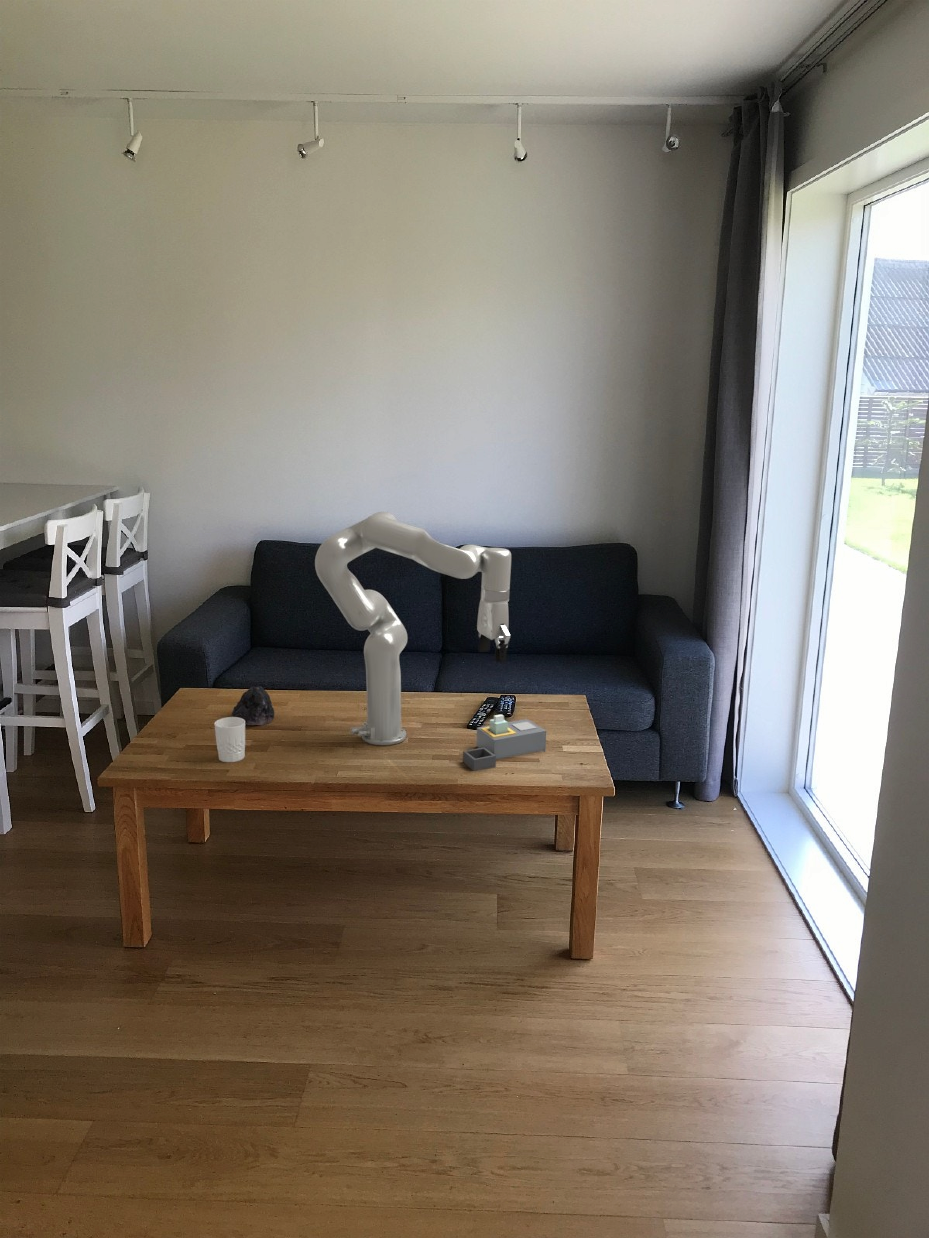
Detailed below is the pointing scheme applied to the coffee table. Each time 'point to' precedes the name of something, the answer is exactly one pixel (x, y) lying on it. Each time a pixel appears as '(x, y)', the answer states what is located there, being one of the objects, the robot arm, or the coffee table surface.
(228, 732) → the white cup
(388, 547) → the robot arm
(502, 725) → the plug
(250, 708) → the crystal cluster
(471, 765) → the holster
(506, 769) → the coffee table surface
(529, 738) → the port panel
